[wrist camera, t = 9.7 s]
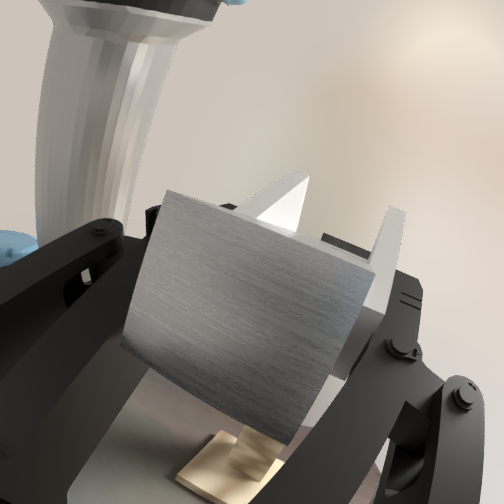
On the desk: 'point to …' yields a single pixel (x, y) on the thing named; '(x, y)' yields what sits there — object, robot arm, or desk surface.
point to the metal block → (244, 311)
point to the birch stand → (232, 467)
